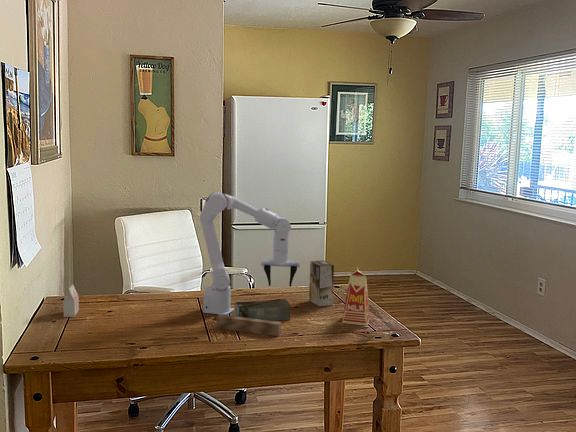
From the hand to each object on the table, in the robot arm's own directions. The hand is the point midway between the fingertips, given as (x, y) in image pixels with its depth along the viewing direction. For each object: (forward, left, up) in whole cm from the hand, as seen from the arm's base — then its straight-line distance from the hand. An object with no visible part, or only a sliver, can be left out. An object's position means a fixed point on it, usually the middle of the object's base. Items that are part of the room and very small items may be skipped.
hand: (279, 285), depth 218 cm
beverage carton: (-3, -12, -10) cm, 16 cm away
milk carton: (+29, -2, -10) cm, 31 cm away
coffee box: (+12, +15, -10) cm, 22 cm away
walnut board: (-3, -26, -10) cm, 28 cm away
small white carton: (-68, -32, -10) cm, 75 cm away
